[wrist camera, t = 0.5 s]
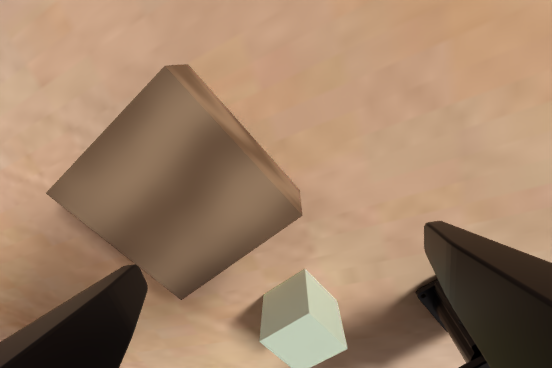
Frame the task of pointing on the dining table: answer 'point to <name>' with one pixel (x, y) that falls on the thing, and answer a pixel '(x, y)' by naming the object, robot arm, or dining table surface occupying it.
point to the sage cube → (301, 322)
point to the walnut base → (179, 184)
